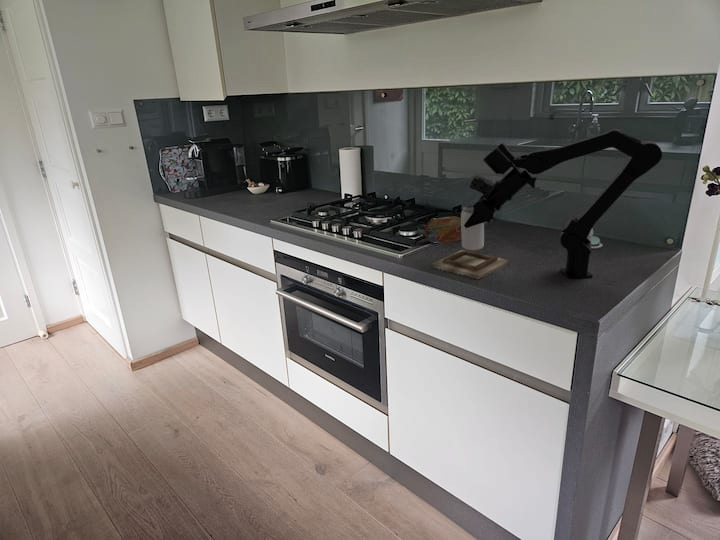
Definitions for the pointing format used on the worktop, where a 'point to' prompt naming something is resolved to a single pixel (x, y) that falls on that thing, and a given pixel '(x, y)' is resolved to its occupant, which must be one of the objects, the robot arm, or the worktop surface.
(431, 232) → the tin
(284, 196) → the worktop surface
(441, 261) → the base plate
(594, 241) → the pacifier
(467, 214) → the can
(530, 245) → the worktop surface
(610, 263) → the worktop surface
